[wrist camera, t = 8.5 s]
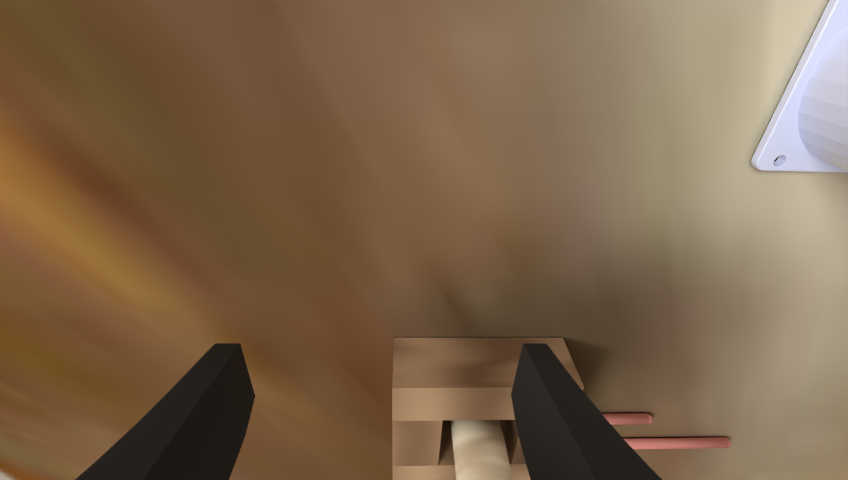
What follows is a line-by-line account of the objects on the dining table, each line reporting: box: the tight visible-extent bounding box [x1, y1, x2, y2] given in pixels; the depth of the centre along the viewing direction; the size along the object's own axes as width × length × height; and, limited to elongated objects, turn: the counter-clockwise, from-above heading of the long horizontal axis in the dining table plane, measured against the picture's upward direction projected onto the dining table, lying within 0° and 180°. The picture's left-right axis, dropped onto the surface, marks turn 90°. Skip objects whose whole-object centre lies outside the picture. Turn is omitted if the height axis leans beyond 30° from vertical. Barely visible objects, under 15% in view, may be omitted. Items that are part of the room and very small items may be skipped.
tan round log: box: [450, 420, 513, 480], centre depth 24 cm, size 3×3×8 cm
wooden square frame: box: [392, 338, 584, 480], centre depth 25 cm, size 10×10×4 cm
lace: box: [602, 413, 731, 449], centre depth 29 cm, size 16×4×1 cm, turn 88°
